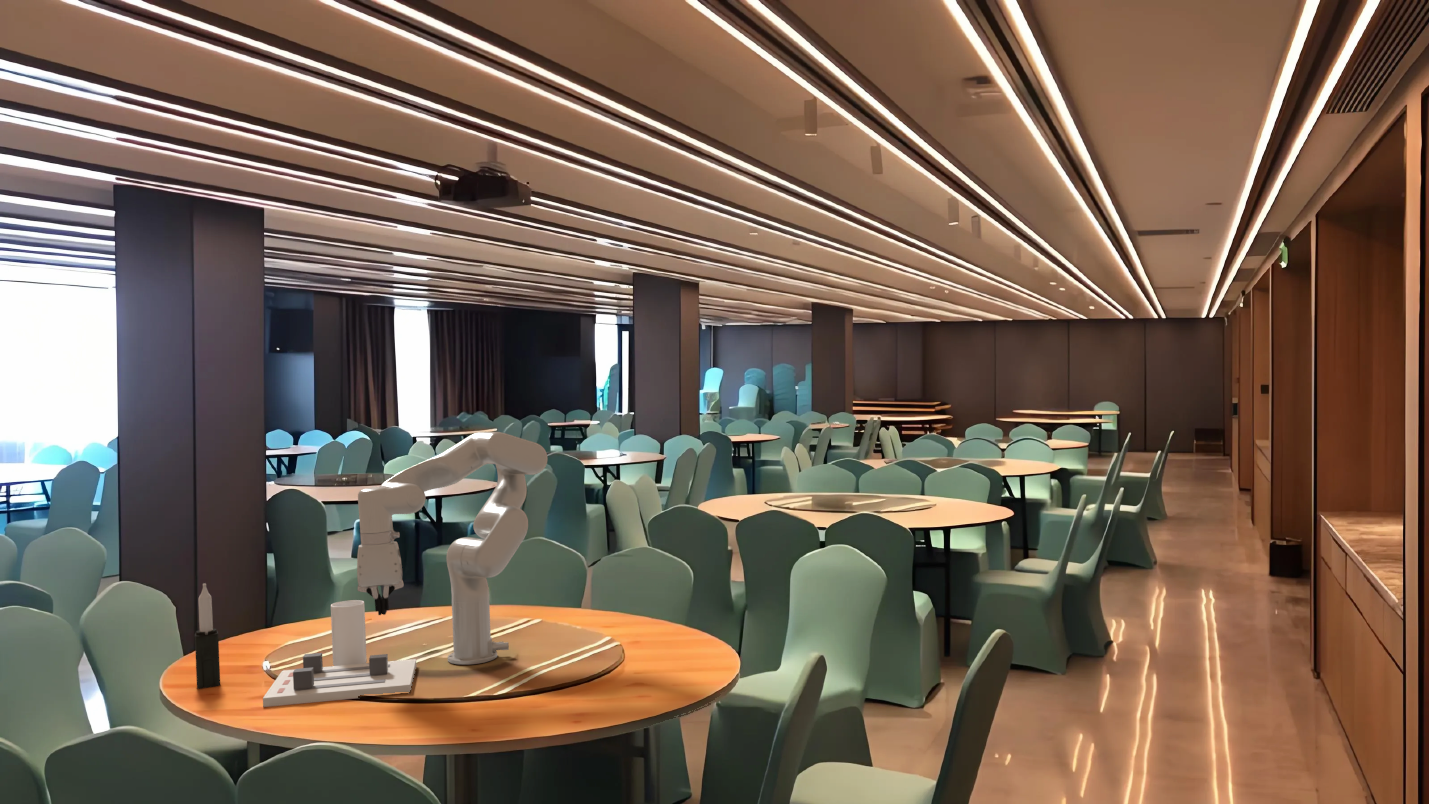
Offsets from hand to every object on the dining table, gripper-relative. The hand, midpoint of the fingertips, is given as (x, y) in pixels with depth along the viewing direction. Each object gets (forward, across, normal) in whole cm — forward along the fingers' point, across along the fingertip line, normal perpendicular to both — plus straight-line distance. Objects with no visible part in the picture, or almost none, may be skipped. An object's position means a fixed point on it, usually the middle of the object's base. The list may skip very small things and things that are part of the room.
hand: (382, 613), depth 254 cm
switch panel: (+16, +10, +1) cm, 19 cm away
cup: (+17, +11, -19) cm, 28 cm away
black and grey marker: (+16, +43, -10) cm, 47 cm away
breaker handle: (+14, +2, +1) cm, 14 cm away
